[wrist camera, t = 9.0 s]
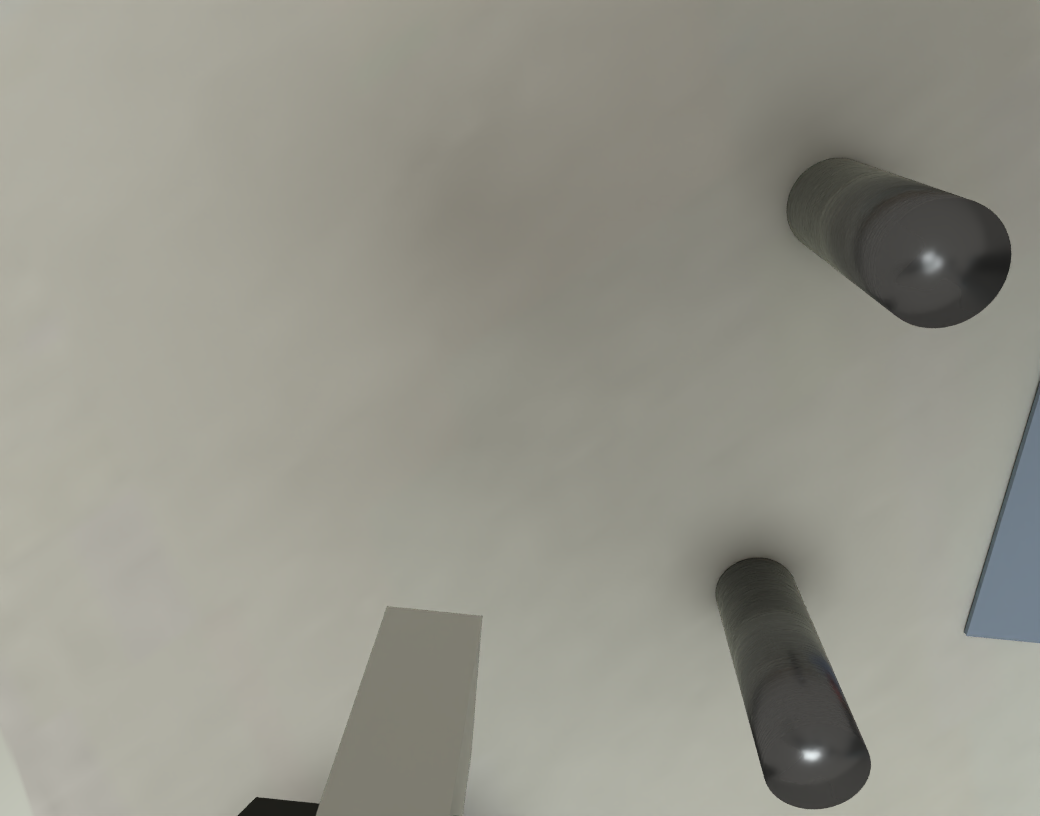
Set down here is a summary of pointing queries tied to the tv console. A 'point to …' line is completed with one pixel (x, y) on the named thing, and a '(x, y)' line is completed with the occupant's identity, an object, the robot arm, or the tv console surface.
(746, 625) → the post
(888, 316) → the tv console surface
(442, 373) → the tv console surface
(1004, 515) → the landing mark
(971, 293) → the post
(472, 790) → the tv console surface
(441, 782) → the robot arm
